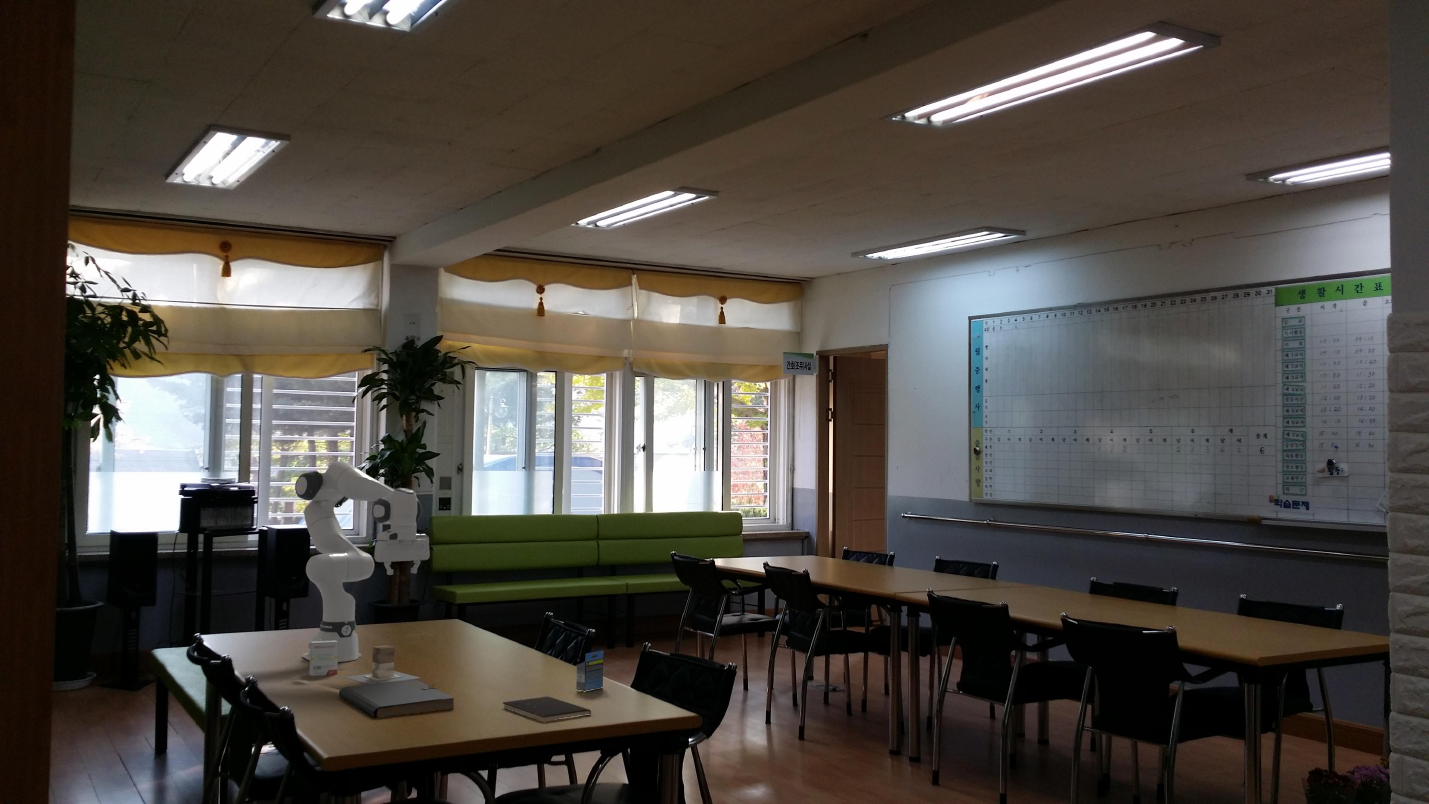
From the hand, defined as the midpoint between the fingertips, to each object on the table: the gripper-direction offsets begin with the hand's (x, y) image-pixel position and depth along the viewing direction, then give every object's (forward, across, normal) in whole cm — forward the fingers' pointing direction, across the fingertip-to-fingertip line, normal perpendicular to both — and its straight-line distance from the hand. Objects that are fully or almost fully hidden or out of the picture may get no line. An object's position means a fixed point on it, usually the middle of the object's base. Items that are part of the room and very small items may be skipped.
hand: (402, 573), depth 381 cm
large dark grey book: (+34, +30, +49) cm, 67 cm away
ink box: (+33, +26, -4) cm, 42 cm away
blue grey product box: (+33, -25, +73) cm, 84 cm away
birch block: (+32, +15, +15) cm, 38 cm away
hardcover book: (+34, +5, +89) cm, 95 cm away
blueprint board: (+33, +15, +15) cm, 39 cm away
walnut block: (+27, +15, +15) cm, 34 cm away
